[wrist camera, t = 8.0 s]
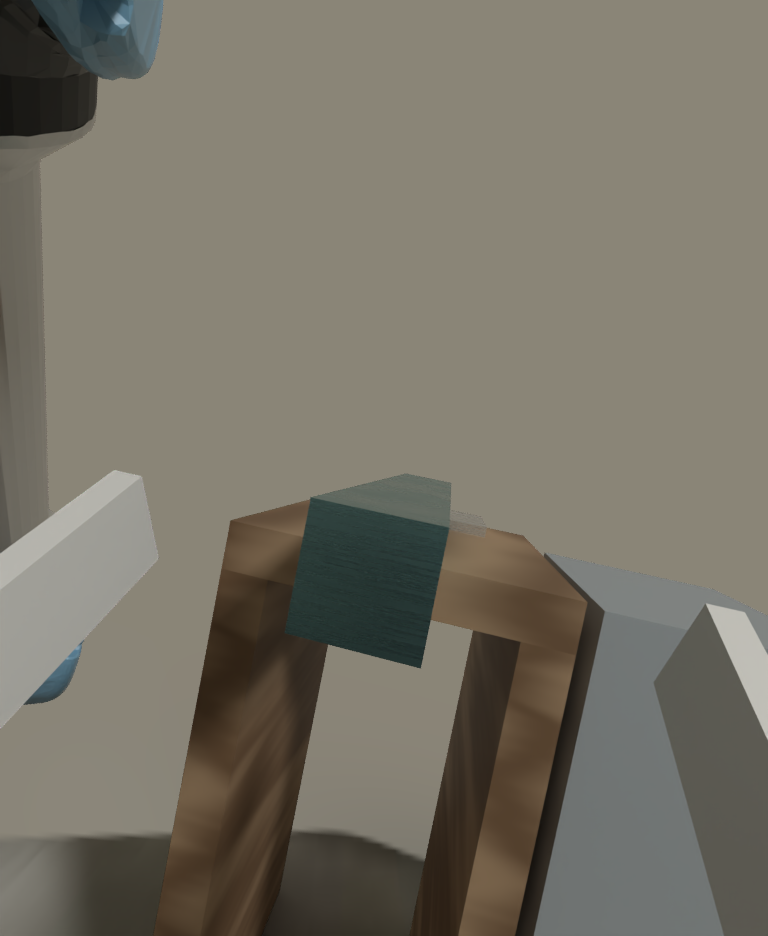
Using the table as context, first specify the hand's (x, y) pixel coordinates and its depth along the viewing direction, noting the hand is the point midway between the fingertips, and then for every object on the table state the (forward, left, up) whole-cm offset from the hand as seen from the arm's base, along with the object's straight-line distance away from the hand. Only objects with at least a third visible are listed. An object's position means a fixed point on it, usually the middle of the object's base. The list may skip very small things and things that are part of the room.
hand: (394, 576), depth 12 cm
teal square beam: (0, +11, -1) cm, 11 cm away
